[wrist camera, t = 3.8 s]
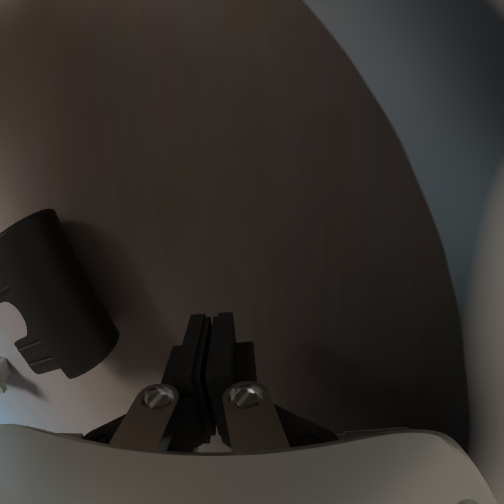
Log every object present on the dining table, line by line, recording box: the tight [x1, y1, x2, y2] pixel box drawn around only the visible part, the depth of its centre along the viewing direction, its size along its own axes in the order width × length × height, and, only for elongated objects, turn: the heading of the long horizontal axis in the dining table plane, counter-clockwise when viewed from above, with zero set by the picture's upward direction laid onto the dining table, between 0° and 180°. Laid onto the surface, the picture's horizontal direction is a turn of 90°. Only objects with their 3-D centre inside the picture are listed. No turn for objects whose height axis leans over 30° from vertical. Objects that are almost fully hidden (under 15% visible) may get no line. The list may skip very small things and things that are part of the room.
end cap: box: [0, 209, 119, 379], centre depth 16 cm, size 10×7×7 cm
